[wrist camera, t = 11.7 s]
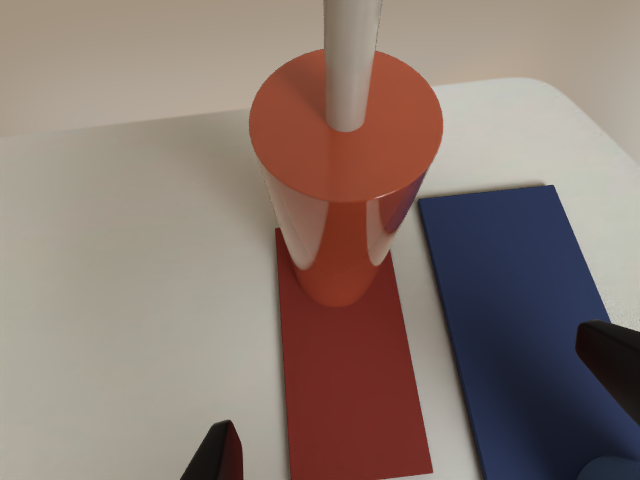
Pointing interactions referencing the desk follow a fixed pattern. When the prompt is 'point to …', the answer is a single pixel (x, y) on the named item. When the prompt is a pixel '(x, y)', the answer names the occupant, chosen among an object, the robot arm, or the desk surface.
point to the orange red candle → (344, 152)
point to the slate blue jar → (611, 469)
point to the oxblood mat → (349, 383)
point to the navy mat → (523, 333)
